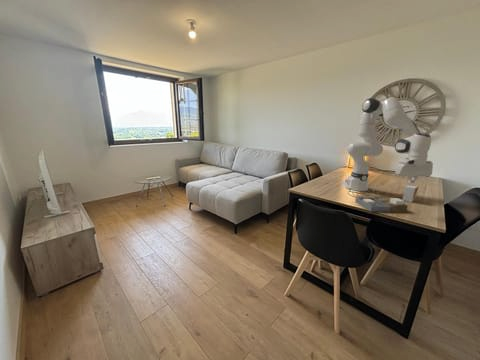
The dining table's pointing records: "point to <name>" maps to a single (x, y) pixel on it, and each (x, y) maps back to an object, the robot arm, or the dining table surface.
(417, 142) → the robot arm
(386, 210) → the bin
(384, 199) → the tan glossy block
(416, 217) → the dining table surface
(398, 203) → the tile
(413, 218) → the dining table surface
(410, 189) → the small box
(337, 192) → the dining table surface
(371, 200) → the tile
